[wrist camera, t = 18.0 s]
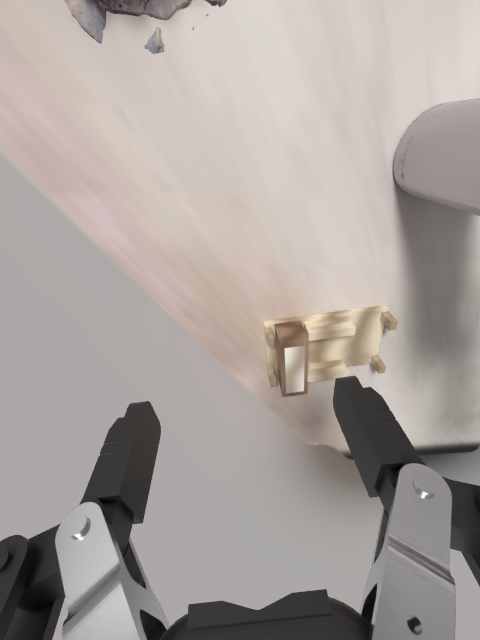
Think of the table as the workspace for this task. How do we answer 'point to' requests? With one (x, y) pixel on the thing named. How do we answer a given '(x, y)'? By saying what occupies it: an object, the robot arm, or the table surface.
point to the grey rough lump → (92, 3)
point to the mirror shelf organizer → (336, 341)
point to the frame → (292, 358)
